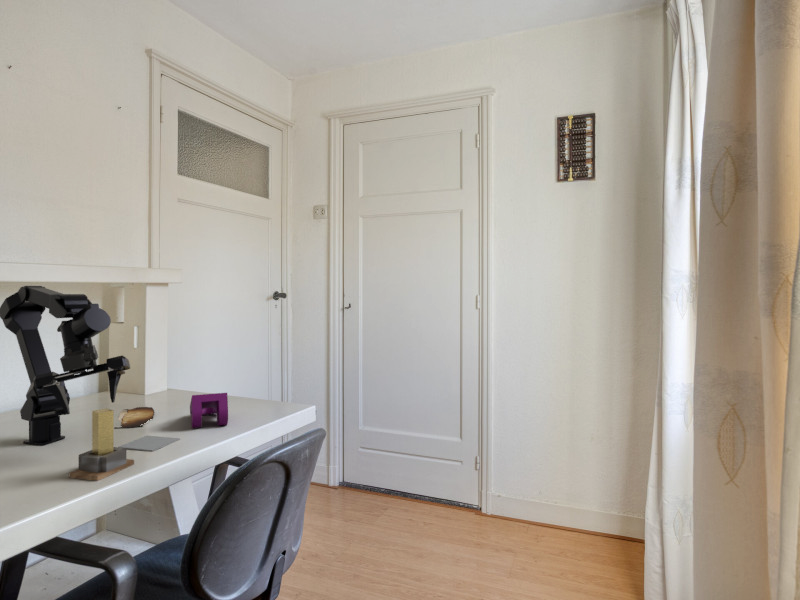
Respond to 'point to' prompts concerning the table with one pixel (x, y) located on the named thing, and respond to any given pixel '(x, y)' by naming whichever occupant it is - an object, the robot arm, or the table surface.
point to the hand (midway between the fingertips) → (90, 408)
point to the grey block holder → (101, 464)
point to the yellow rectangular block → (102, 432)
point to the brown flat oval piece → (136, 416)
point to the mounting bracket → (209, 408)
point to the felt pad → (149, 443)
